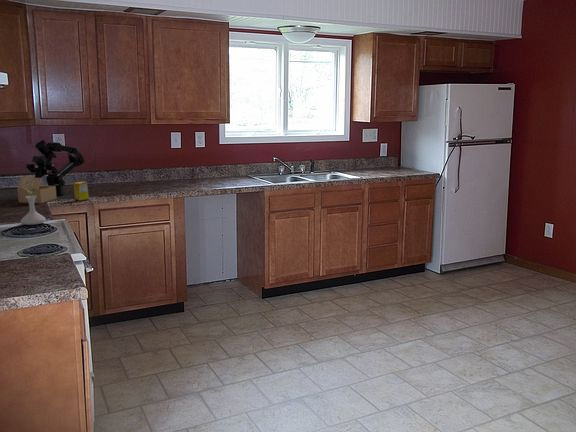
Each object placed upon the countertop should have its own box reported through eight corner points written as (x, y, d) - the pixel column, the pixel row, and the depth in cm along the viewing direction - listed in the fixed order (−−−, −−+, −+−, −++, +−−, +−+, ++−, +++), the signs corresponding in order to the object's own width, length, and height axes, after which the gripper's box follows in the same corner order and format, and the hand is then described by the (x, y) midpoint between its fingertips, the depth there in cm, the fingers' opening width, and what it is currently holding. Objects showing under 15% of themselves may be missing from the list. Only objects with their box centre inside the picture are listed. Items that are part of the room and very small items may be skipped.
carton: (35, 197, 348) (34, 185, 346) (57, 199, 343) (56, 186, 341) (18, 202, 334) (16, 188, 332) (40, 203, 330) (39, 190, 328)
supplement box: (83, 199, 344) (82, 181, 341) (89, 200, 340) (87, 182, 338) (74, 200, 339) (73, 182, 337) (80, 201, 335) (78, 183, 333)
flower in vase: (19, 223, 281) (13, 173, 276) (43, 220, 288) (38, 171, 282) (24, 228, 271) (18, 176, 265) (49, 225, 277) (44, 174, 272)
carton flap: (21, 177, 334) (20, 176, 333) (41, 178, 330) (41, 177, 329) (18, 188, 332) (17, 188, 331) (38, 189, 328) (37, 189, 327)
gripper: (26, 150, 339) (14, 171, 332) (52, 151, 334) (41, 172, 326) (36, 161, 349) (25, 182, 341) (62, 162, 343) (51, 183, 335)
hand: (35, 179), depth 336 cm, fingers closed
